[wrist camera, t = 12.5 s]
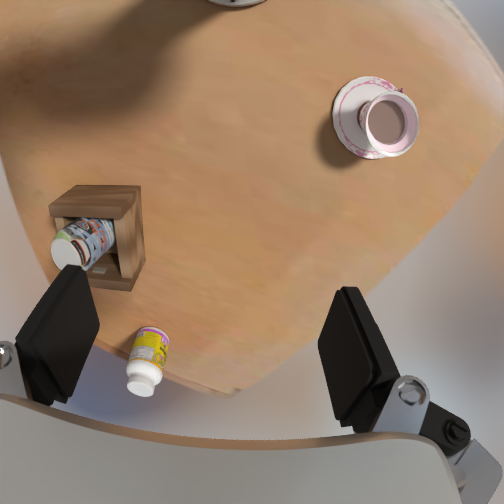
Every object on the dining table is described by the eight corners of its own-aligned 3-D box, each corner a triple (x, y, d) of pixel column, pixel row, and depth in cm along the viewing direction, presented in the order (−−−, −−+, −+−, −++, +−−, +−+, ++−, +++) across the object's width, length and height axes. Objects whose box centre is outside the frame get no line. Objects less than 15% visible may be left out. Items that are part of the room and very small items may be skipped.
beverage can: (134, 233, 40) (103, 279, 30) (94, 239, 41) (58, 283, 30) (123, 193, 37) (84, 230, 27) (82, 202, 38) (39, 239, 27)
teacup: (390, 170, 38) (411, 183, 33) (319, 140, 36) (332, 148, 31) (417, 99, 32) (441, 103, 27) (347, 62, 30) (365, 57, 25)
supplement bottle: (169, 350, 55) (159, 402, 44) (138, 344, 54) (124, 395, 43) (170, 328, 52) (158, 383, 41) (136, 321, 51) (118, 375, 40)
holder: (75, 185, 37) (48, 205, 30) (140, 185, 38) (120, 207, 31) (86, 255, 43) (66, 283, 36) (145, 260, 44) (131, 291, 37)
